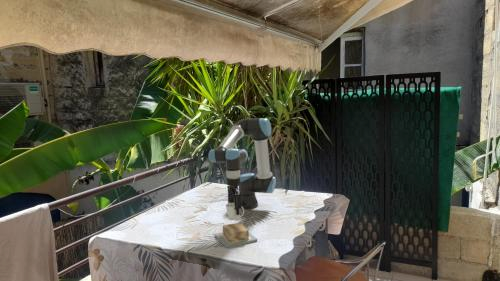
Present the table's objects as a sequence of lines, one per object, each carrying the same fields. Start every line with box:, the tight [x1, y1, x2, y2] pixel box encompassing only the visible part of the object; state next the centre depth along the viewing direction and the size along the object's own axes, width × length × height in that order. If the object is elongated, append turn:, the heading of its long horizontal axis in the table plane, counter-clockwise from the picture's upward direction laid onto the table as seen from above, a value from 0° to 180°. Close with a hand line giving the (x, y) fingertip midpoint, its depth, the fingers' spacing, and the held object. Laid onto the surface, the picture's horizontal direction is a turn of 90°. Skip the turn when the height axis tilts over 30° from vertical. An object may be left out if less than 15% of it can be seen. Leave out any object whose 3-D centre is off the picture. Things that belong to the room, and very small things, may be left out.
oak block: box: [222, 222, 250, 242], centre depth 195 cm, size 11×13×5 cm
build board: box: [214, 232, 258, 249], centre depth 195 cm, size 18×18×1 cm
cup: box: [225, 202, 245, 221], centre depth 193 cm, size 7×10×8 cm
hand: (234, 218), depth 194 cm, fingers closed on cup, 6 cm apart
